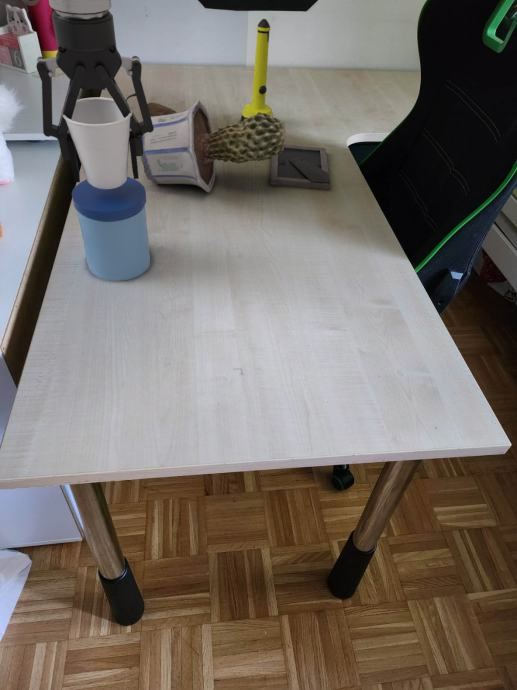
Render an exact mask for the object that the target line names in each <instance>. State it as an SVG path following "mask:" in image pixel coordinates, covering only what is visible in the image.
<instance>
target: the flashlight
mask: <svg viewBox="0 0 517 690" xmlns="http://www.w3.org/2000/svg"><path fill="white" fill-rule="evenodd" d="M256 30H257V33H256V34H257V35H256V43H255V44H256V45H255V46H256V48H255V58H254V71H253V80H252V81H253V82H252V93H251V95H252V96H251V102H250V103H247V104H245V105H244V107H243V108H242V109H243V110H242V111H241V115H240V122H243V121H244V119H245V118H246V117H247V118H249V117H251V116H256V114H258V112H260V113H262V114H263V113H265V114H267V115H270V116H272V117H274V113H273V110H272V107H271V106H270V105H268V104H266V97H267V96H266V94H267V90H268V89H267V77H268V62H269V61H268V60H269V45H270V44H269V43H270V31H271V25H270V23H269V21H268V20H267V19H266V18H262V19H261V20H260V21H259V22H258V24H257V26H256Z"/></svg>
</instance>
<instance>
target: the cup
mask: <svg viewBox="0 0 517 690" xmlns="http://www.w3.org/2000/svg"><path fill="white" fill-rule="evenodd" d="M129 107H130V112H131V113H129V114H128V116H127V117H125V118H124V117H123V115H122V113H121V112H120V110H119V108H118V106H117V105H116V103H115V101H114V100H113V98H112V97H111V98H110V97H100V96H99V97H98V96H97V97H95V96H94V97H86V98H80V99H77V101H76V105H75V108H74V112H73V115H72V119H69V118H67V117H66V115H63V108H61V111H60V115H61V114H62V116H63V118H64V119H65V120H66V123H67V125H68V128H69V130H68V133H70V134H71V137H72V140H73V142H74V147H75V151H76V154H77V156H78V159H79V162H80V164H81V167H82V169H83V173H84V175H85V178H86V179H87V181H88V183H89V184H91V185H92V186H94V187H96V188H99V189H114V188H117V187H120V186H121V185H123V184H124V183H125V182H126V180H127V177H128V168H129V151H130V144H129V136H130V131H131V129H130V117H131V115H132V112H133V108H132V107H131V106H130V105H129Z"/></svg>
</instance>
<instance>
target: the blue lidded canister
mask: <svg viewBox="0 0 517 690" xmlns="http://www.w3.org/2000/svg"><path fill="white" fill-rule="evenodd" d="M146 192H147V191H146V187H145V186H144V185H143V183H141V182H140V181H139V180H138V179H134V177H133V178H132V177H130V176H127V180H126V182H125V183H124V184H123V185H121V186H120V187H117V188H114V189H99V188H96V187H94V186H92V185H91V184H89V183H88V181H87V178H86V179H84V180H82V181H80V182H78V184H77V185H75V186H74V188H73V189H72V191H71V199H72V202H73V207H74V209H75V210H76V212H77V217H78V222H79V223H78V224H79V228H80V233H81V238H82V242H83V247H84V251H85V257H86V261H87V262H86V263H87V267H88V269H89V271H90V273H92V274H93V275H94V276H95V277H97V278H99V279H101V280H105V281H110V282H111V281H112V282H123V281H127V280H128V281H129V280H132V279H135V278H138V277H139V276H141V275H143V274H144V273H145V272H146V271H147V270H148V268H150V265H151V254H150V253H151V252H150V244H149V243H150V242H149V231H148V223H147V213H146V212H147V211H146V203H147V194H146Z"/></svg>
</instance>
